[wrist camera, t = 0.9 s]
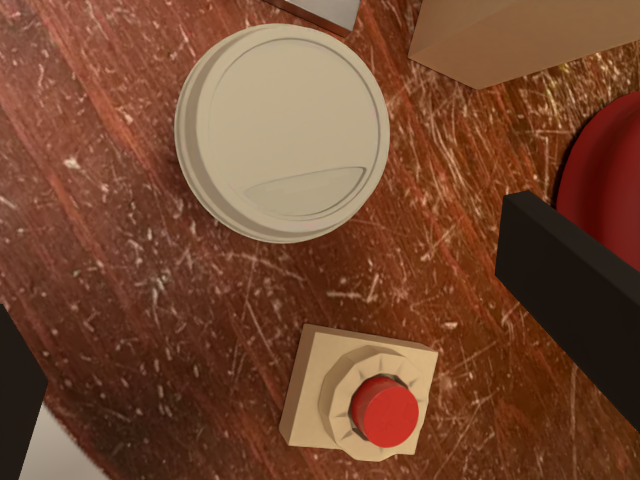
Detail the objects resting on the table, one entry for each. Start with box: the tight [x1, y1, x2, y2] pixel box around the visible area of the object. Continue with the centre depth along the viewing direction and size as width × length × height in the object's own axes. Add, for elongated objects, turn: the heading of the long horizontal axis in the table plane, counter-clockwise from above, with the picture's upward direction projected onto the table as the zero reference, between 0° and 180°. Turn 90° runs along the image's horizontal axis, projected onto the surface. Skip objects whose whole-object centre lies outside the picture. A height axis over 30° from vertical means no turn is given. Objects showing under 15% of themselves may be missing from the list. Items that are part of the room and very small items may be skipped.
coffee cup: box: [174, 24, 390, 243], centre depth 23 cm, size 8×8×12 cm
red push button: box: [351, 377, 419, 448], centre depth 29 cm, size 4×4×2 cm
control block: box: [279, 323, 438, 461], centre depth 31 cm, size 9×7×4 cm
